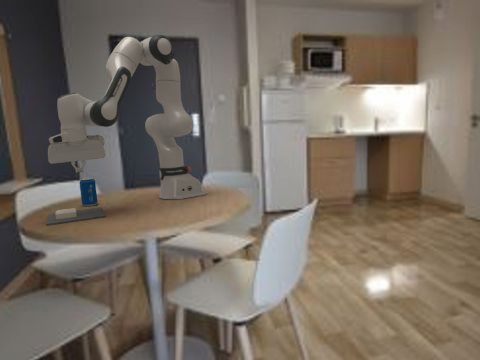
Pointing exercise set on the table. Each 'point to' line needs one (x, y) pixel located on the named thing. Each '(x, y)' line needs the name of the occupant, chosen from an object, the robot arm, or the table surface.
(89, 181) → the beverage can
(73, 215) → the tile
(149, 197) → the table surface
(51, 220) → the mat
